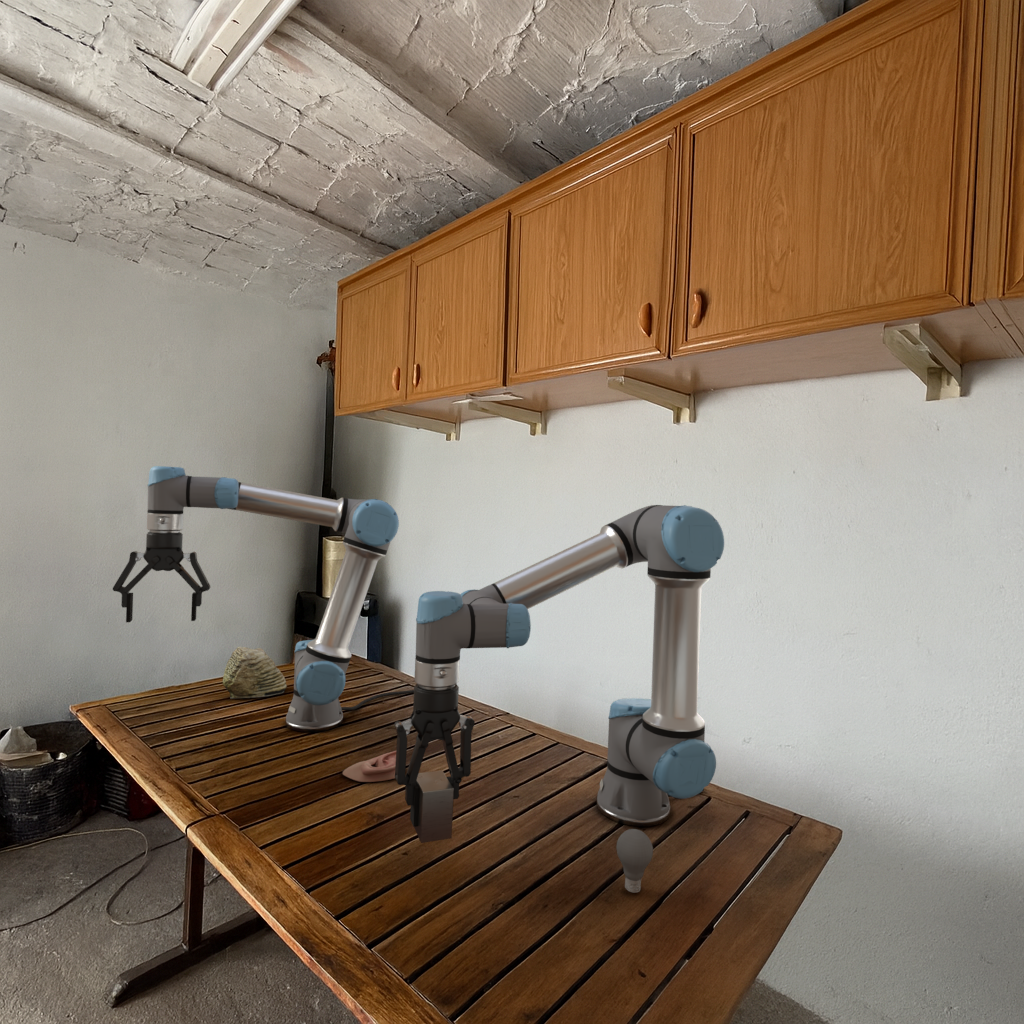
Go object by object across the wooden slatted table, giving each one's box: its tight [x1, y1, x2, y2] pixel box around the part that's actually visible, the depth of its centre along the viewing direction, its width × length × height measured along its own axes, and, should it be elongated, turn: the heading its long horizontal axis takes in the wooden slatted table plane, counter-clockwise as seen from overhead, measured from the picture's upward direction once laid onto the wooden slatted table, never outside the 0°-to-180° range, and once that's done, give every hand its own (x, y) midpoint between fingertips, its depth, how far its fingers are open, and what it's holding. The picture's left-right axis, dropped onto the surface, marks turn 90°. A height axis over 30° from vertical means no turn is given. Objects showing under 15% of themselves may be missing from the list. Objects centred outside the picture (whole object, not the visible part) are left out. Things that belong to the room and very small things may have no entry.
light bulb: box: [615, 828, 654, 894], centre depth 106 cm, size 6×6×10 cm
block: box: [413, 769, 454, 844], centre depth 107 cm, size 5×7×8 cm
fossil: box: [222, 646, 288, 699], centre depth 198 cm, size 9×18×15 cm, turn 132°
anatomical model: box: [342, 750, 396, 783], centre depth 146 cm, size 13×4×12 cm
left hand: (161, 620), depth 151 cm, fingers open, 13 cm apart
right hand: (431, 819), depth 107 cm, fingers closed on block, 5 cm apart
